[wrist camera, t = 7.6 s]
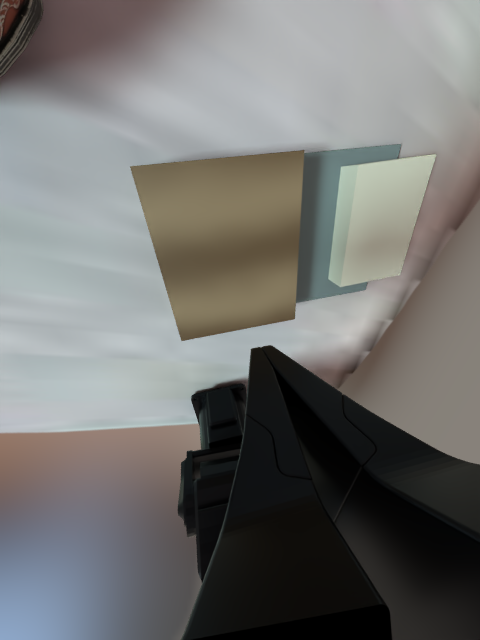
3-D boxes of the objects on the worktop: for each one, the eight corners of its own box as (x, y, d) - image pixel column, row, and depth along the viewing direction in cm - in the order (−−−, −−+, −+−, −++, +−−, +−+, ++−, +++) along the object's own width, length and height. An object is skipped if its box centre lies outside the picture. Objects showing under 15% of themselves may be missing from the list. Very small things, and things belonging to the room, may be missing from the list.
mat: (363, 288, 23) (365, 289, 23) (282, 303, 22) (283, 304, 22) (398, 144, 17) (401, 144, 16) (285, 155, 16) (287, 154, 15)
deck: (282, 303, 22) (294, 319, 20) (182, 322, 21) (181, 340, 18) (285, 155, 16) (304, 150, 13) (139, 169, 14) (130, 166, 12)
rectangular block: (340, 287, 20) (328, 279, 21) (400, 274, 20) (383, 267, 22) (358, 164, 15) (341, 166, 16) (436, 154, 15) (412, 156, 17)
